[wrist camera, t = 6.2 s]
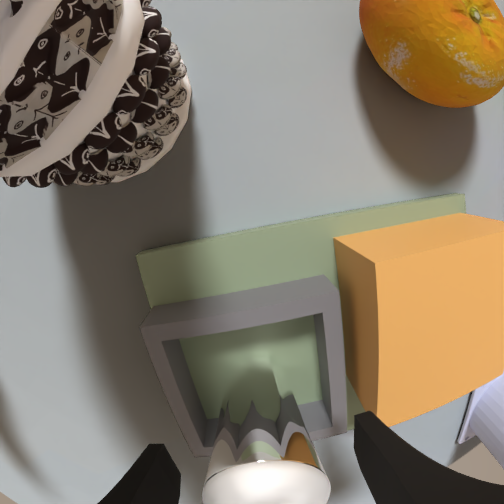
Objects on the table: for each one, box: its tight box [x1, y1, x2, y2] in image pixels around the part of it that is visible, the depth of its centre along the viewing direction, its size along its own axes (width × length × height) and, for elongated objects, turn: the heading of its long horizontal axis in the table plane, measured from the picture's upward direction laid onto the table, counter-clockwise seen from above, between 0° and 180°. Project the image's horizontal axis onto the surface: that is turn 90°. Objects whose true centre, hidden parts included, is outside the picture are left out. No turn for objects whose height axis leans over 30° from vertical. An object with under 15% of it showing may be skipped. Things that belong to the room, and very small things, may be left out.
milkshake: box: [202, 356, 331, 504], centre depth 11 cm, size 5×5×10 cm
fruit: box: [359, 0, 504, 108], centre depth 10 cm, size 8×8×8 cm
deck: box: [136, 193, 504, 457], centre depth 14 cm, size 18×14×6 cm
